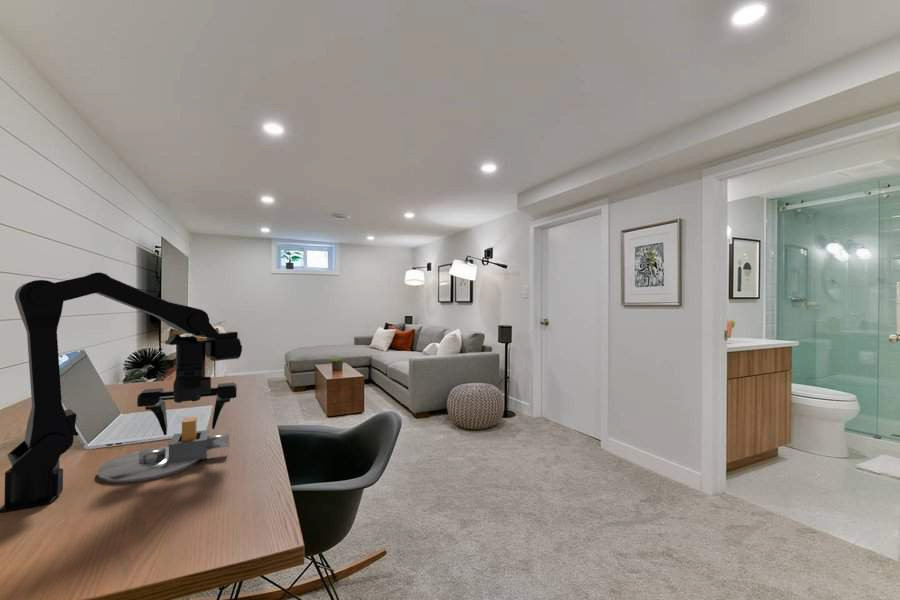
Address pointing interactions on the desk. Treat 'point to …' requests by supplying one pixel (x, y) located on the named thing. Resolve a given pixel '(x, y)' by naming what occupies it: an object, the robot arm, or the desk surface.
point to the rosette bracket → (161, 459)
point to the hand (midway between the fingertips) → (189, 431)
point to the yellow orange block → (189, 428)
